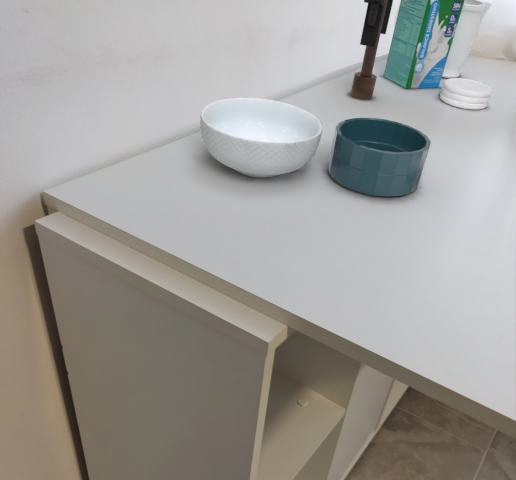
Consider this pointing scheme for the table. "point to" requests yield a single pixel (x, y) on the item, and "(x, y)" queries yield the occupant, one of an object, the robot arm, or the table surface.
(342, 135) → the bowl
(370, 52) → the pestle
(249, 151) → the cereal bowl
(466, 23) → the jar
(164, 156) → the table surface
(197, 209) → the table surface
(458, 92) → the coaster
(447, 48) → the milk carton
